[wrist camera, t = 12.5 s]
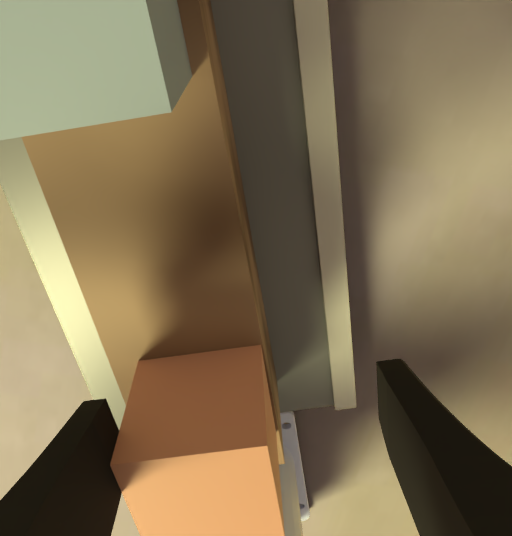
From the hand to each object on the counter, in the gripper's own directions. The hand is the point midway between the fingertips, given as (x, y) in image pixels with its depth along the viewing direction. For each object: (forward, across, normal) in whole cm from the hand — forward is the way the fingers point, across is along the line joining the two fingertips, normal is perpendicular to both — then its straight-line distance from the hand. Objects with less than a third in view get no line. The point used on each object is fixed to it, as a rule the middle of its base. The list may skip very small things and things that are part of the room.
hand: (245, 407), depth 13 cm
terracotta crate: (+3, +2, +2) cm, 4 cm away
